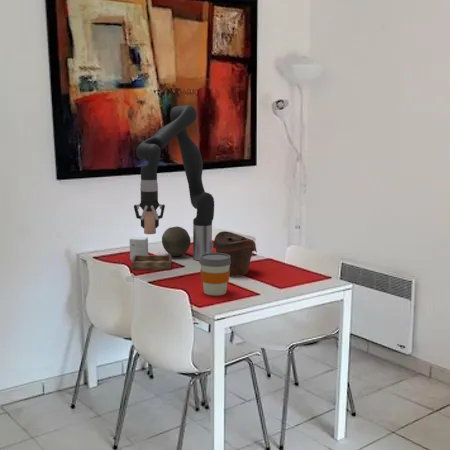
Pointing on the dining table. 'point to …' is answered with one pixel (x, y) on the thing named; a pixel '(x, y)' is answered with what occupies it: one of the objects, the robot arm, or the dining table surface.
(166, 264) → the tray
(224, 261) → the reusable coffee cup
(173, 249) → the cantaloupe
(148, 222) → the tan round cylinder
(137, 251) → the small box
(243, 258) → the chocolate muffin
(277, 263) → the dining table surface
